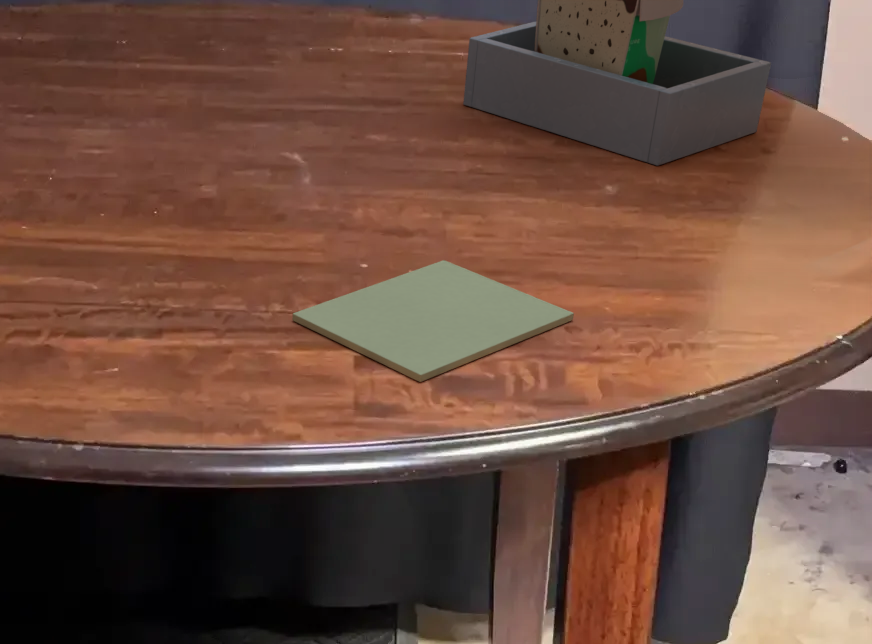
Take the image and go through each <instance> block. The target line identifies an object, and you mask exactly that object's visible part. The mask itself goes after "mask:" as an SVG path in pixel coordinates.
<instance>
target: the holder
mask: <svg viewBox="0 0 872 644" xmlns="http://www.w3.org/2000/svg"><path fill="white" fill-rule="evenodd" d="M535 35H536V21H532V22H528V23H524V24H523V23H522V24H520V25H515V26H512V27H508V28H504V29H500V30H499V29H498V30H496V31H492V32H488V33H484V34H479V35H476V36H475V35H474V36H471V37H469V41H468V49H467V50H468V51H467V63H466V70H465V71H466V73H465V82H464V91H463V103H462V104H463V105H464V106H466V107H469V108H473V109H476V110H479V111H482V112H485V113H489V114H491V115H495V116H499V117H501V118H505V119H507V120H511V121H513V122H517V123H521V124H523V125H526V126H530V127H532V128H536V129H539V130H542V131H546V132H549V133H552V134H555V135H558V136H562V137H565V138H568V139H570V140H575V141H578V142H581V143H583V144H586V145H589V146H594V147H596V148H600V149H603V150H606V151H609V152H613V153H615V154H619V155H622V156H624V157H625V156H626V157H629V158H631V159H635V160H638V161H641V162H644V163H648V164H650V165H654V166H657V167H658V166H662V165H664V164H667V163H670V162H673V161H675V160H679V159H681V158H685V157H688V156H690V155H694V154H697V153H699V152H703V151H706V150H708V149H711V148H714V147H716V146H720V145H723V144H726V143H728V142H731V141H734V140H737V139H740V138H743V137H746V136H749V135H751V134H755V133H757V132H758V127H759V122H760V118H761V114H762V109H763V105H764V100H765V94H766V89H767V85H768V80H769V75H770V70H771V65H772V62H771V61H767V60H762V59H759V58H754V57H750V56H748V55H747V56H746V55H742V54H738V53H734V52H731V51H726V50H723V49H719V48H714V47H711V46H706V45H703V44H698V43H694V42H690V41H685V40H682V39H678V38H674V37H670V36H666V35H665V38H664V42H663V46H662V50H661V54H660V58H659V62H658V66H657V70H656V74H655V78H654V82H653V84H650V83H647V82H643V81H639V80H636V79H632V78H628V77H625V76H621V75H617V74H614V73H610V72H607V71H603V70H599V69H596V68H592V67H588V66H585V65H581V64H577V63H574V62H570V61H567V60H563V59H559V58H556V57H552V56H548V55H545V54H541V53H537V52H534V50H535Z"/></svg>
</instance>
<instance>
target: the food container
mask: <svg viewBox="0 0 872 644" xmlns="http://www.w3.org/2000/svg"><path fill="white" fill-rule="evenodd" d="M536 7H537V8H536V19H535V20H536V21H535V22H536V35H535V50H534V52H537V53H541V54H545V55H548V56H552V57H556V58H559V59H563V60H567V61H570V62H574V63H577V64H581V65H585V66H588V67H592V68H596V69H599V70H603V71H607V72H610V73H614V74H617V75H621V76H625V77H628V78H632V79H636V80H639V81H643V82H647V83H650V84H653V82H654V78H655V74H656V70H657V66H658V62H659V58H660V54H661V50H662V46H663V42H664V38H665V36H666V34H667V30H668V26H669V21H670V18H671V16H672V15H674V14H676V13H678V12H679V11H681V10H682V9H683V7H684V0H537V6H536Z"/></svg>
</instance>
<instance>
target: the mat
mask: <svg viewBox="0 0 872 644" xmlns="http://www.w3.org/2000/svg"><path fill="white" fill-rule="evenodd" d="M574 315H575V313H574V312H572V311H570V310H567V309H565V308H563V307H560V306H558V305H556V304H554V303H550V302H548V301H546V300H543V299H541V298H538V297H535V296H533V295H531V294H529V293H526V292H524V291H521V290H519V289H516V288H513V287H512V286H509V285H506V284H504V283H502V282H499V281H496V280H494V279H492V278H489V277H488V276H487V277H486V276H484V275H481V274H480V273H477V272H474V271H472V270H469V269H467V268H464V267H462V266H460V265H457V264H454V263H453V262H450V261H447V260H445V259H442V260H440V261H437V262H434V263H431V264H429V265H426V266H423V267H420V268H417V269H415V270H412V271H408V272H406V273H403V274H400V275H398V276H395V277H392V278H389V279H386V280H383V281H380V282H377V283H375V284H372V285H370V286H366V287H364V288H360V289H357V290H355V291H352V292H350V293H347V294H344V295H340V296H338V297H335V298H333V299H330V300H329V299H328V300H326V301H323V302H321V303H319V304H318V303H317V304H315V305H312V306H310V307H306V308H304V309H301V310H299V311H296V312H293V313H292V321H293V322H295V323H297V324H299V325H301V326H303V327H305V328H306V329H307V328H308V329H309V330H311V331H314V332H316V333H318V334H320V335H322V336H323V337H326V338H327V339H330V340H333V341H334V342H336V343H338V344H340V345H343V346H345V347H347V348H349V349H350V350H353V351H354V352H357V353H359V354H361V355H363V356H365V357H367V358H370V359H371V360H374V361H375V362H378V363H380V364H381V365H384V366H386V367H388V368H390V369H392V370H394V371H396V372H397V373H400V374H402V375H404V376H405V377H406V376H407V377H408V378H411V379H412V380H415V381H417V382H418V383H421V382H424V381H427V380H429V379H432V378H434V377H437V376H439V375H441V374H443V373H446V372H448V371H452V370H453V369H456V368H459V367H461V366H464V365H466V364H468V363H471V362H473V361H476V360H478V359H480V358H481V359H482V358H483V357H486V356H487V355H490V354H493V353H495V352H498V351H500V350H503V349H505V348H507V347H510V346H513V345H516V344H517V343H520V342H522V341H524V340H527V339H530V338H532V337H535V336H537V335H539V334H543V333H544V332H546V331H547V332H548V331H550V330H552V329H554V328H558V327H559V326H561V325H564V324H566V323H569V322H571V321H573V320H574Z"/></svg>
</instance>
